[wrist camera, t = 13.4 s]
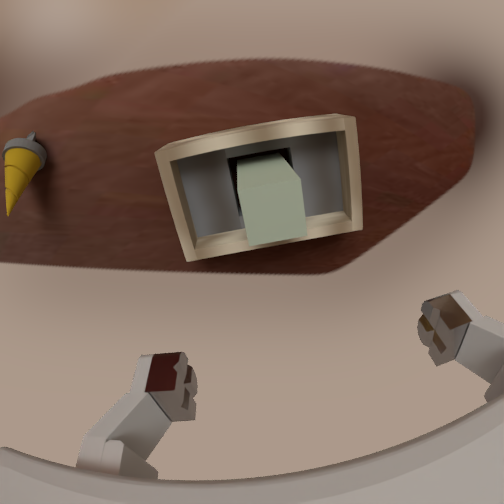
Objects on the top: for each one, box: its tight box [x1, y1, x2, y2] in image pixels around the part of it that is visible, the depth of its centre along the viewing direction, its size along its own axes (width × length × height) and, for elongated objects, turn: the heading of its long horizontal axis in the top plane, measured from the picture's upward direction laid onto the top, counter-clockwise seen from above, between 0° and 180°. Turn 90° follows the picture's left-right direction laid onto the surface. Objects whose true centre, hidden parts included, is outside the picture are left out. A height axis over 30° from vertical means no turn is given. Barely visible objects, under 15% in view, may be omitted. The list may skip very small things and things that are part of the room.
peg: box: [237, 153, 307, 246], centre depth 24 cm, size 4×4×10 cm
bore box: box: [155, 114, 363, 262], centre depth 26 cm, size 16×10×5 cm, turn 100°
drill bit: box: [2, 131, 47, 216], centre depth 22 cm, size 5×5×10 cm
